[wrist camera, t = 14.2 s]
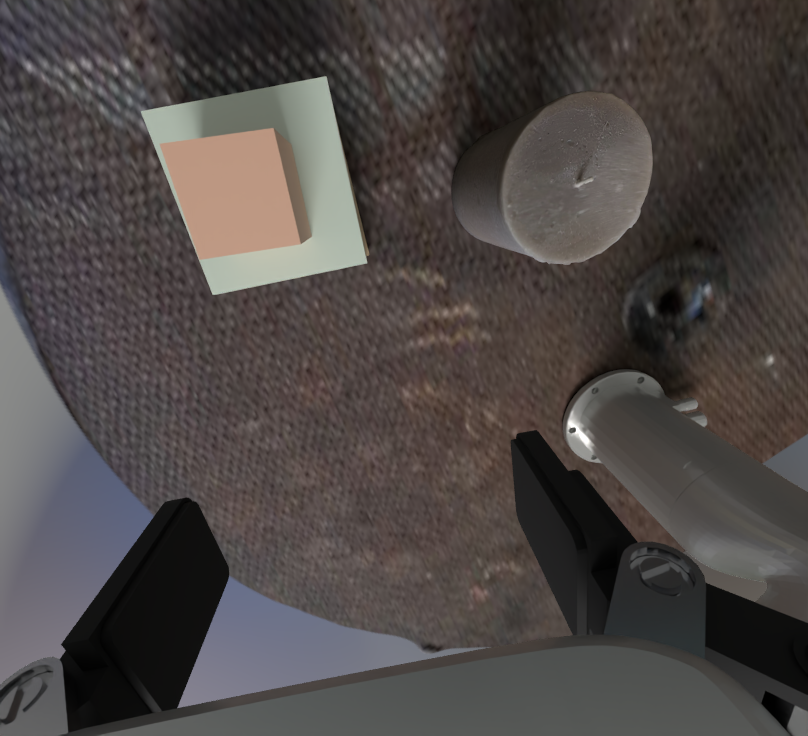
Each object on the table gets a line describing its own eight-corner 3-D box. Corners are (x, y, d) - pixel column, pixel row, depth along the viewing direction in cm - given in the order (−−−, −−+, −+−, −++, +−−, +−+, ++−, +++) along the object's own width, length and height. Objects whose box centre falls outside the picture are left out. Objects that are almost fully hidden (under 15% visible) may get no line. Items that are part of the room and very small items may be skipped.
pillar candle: (473, 112, 33) (554, 48, 19) (570, 153, 35) (704, 122, 21) (436, 226, 36) (481, 241, 23) (525, 257, 38) (617, 288, 25)
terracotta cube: (291, 144, 26) (273, 127, 20) (311, 236, 28) (300, 244, 23) (201, 156, 26) (159, 143, 20) (230, 249, 28) (199, 259, 23)
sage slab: (330, 93, 28) (326, 76, 25) (366, 256, 33) (367, 263, 30) (169, 123, 28) (140, 111, 24) (228, 285, 33) (213, 295, 29)
